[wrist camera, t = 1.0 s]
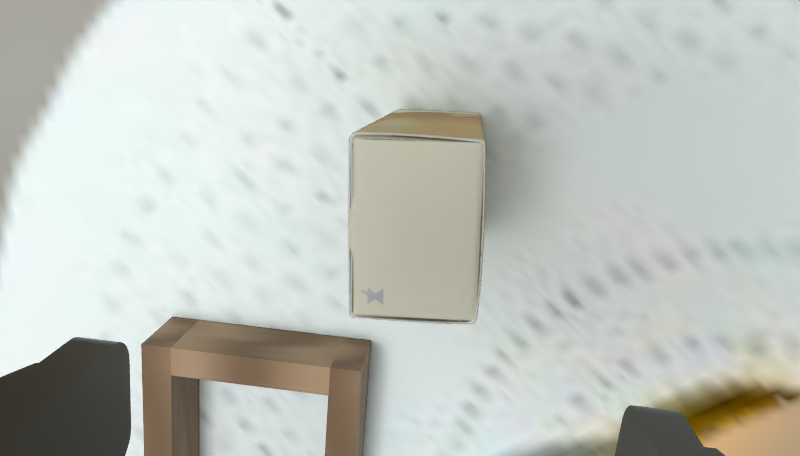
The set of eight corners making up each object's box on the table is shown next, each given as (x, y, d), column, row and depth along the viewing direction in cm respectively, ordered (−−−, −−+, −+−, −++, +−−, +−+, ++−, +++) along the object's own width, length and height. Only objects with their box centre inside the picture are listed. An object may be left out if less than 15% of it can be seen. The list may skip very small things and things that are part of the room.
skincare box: (475, 234, 33) (479, 336, 21) (389, 230, 33) (346, 328, 21) (482, 105, 31) (491, 136, 19) (392, 102, 32) (346, 132, 20)
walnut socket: (371, 340, 35) (360, 371, 31) (357, 514, 38) (347, 559, 34) (172, 317, 36) (141, 344, 32) (174, 488, 39) (146, 530, 35)
